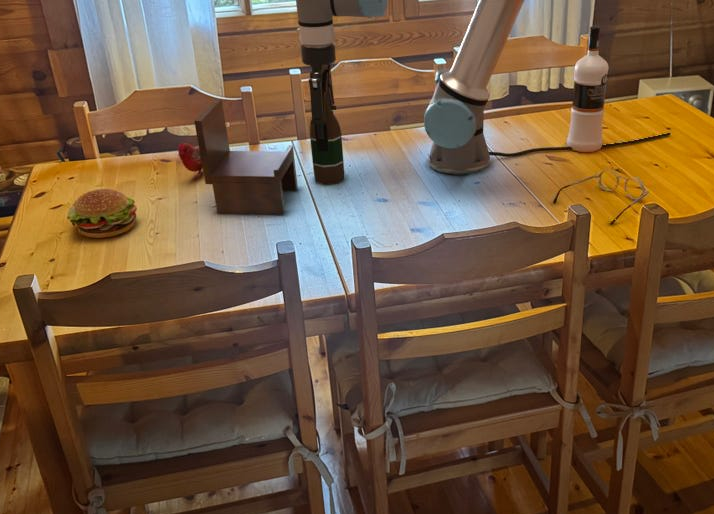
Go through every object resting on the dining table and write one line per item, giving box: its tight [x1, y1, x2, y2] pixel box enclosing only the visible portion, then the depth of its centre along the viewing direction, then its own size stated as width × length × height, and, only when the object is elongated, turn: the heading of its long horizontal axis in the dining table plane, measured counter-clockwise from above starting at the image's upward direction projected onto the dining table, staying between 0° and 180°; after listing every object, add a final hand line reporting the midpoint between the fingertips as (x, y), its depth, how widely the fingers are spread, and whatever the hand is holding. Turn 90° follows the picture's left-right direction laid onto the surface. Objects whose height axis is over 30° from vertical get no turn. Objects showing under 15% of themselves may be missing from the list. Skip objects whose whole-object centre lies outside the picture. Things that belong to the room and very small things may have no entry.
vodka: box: [566, 25, 610, 153], centre depth 205 cm, size 9×9×30 cm
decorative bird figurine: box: [177, 142, 203, 180], centre depth 199 cm, size 3×18×10 cm, turn 164°
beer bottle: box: [309, 81, 345, 186], centre depth 191 cm, size 8×8×24 cm
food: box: [66, 188, 138, 239], centre depth 174 cm, size 14×14×8 cm
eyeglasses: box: [552, 168, 650, 225], centre depth 182 cm, size 17×15×5 cm
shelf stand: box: [193, 98, 299, 216], centre depth 182 cm, size 16×15×21 cm
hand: (326, 144), depth 193 cm, fingers closed on beer bottle, 8 cm apart
